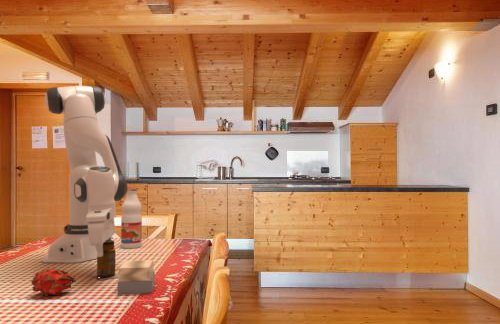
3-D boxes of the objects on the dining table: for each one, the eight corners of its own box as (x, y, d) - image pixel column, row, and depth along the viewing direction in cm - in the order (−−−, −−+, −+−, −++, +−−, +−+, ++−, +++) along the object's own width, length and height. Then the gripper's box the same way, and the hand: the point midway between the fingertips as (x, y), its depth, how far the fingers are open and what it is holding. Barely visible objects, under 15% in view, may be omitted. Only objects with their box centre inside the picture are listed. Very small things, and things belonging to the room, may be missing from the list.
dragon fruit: (28, 300, 110) (71, 303, 113) (23, 290, 104) (70, 293, 107) (37, 272, 116) (78, 275, 119) (33, 261, 109) (77, 265, 112)
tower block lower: (117, 295, 111) (117, 282, 111) (122, 285, 121) (122, 273, 121) (152, 293, 113) (152, 280, 113) (154, 283, 123) (154, 271, 123)
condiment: (112, 271, 136) (112, 238, 136) (121, 276, 129) (121, 242, 129) (92, 275, 131) (92, 241, 131) (99, 281, 125) (99, 245, 125)
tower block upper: (118, 281, 112) (118, 268, 112) (125, 273, 121) (125, 260, 121) (149, 280, 113) (149, 267, 113) (153, 272, 122) (153, 260, 122)
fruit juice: (145, 245, 182) (146, 188, 182) (133, 249, 173) (133, 189, 173) (129, 244, 185) (130, 187, 186) (116, 248, 176) (117, 188, 177)
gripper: (100, 209, 140) (102, 246, 140) (84, 218, 119) (86, 261, 119) (118, 208, 140) (119, 245, 140) (104, 216, 120) (106, 259, 120)
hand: (104, 252), depth 130 cm, fingers open, 8 cm apart
